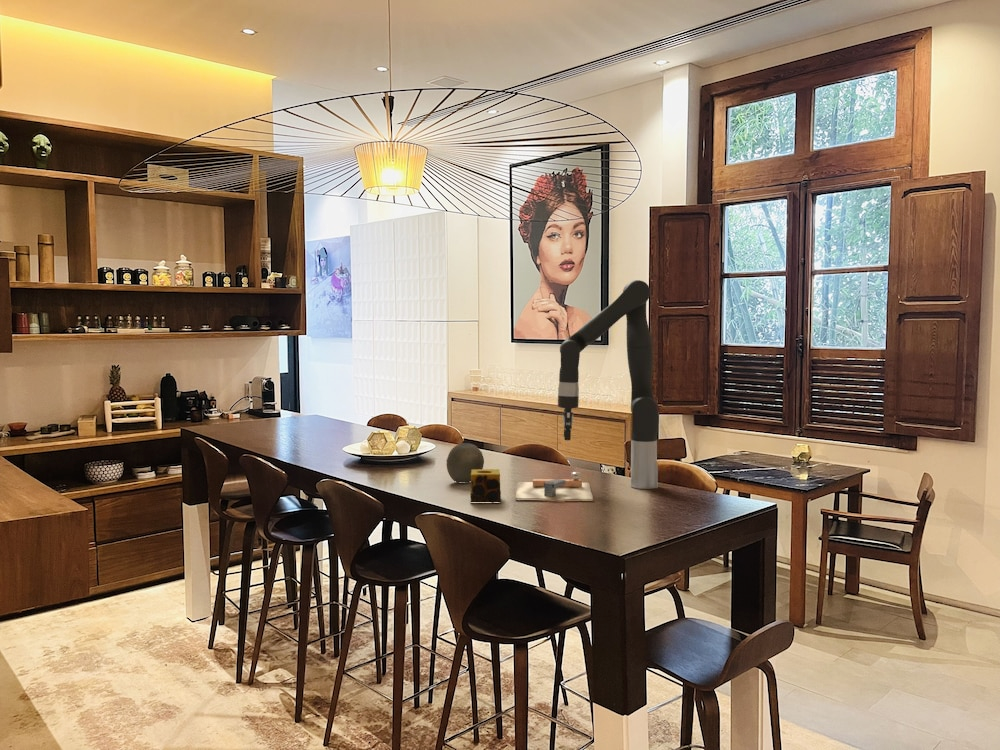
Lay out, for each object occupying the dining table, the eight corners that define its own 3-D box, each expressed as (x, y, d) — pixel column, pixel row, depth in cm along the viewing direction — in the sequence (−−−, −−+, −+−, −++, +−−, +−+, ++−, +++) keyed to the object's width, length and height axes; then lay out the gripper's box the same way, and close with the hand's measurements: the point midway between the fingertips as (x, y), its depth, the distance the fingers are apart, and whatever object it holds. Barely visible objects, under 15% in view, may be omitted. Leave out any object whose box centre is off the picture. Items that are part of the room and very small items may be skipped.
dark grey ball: (444, 486, 281) (444, 446, 280) (448, 479, 295) (448, 441, 294) (483, 487, 280) (483, 446, 280) (485, 479, 295) (484, 441, 294)
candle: (500, 504, 252) (500, 474, 252) (470, 504, 252) (470, 474, 252) (500, 497, 262) (500, 468, 262) (471, 497, 262) (471, 469, 262)
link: (581, 484, 277) (581, 479, 277) (582, 486, 273) (582, 481, 273) (532, 484, 278) (532, 478, 278) (532, 486, 274) (532, 481, 274)
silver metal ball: (580, 479, 277) (580, 471, 277) (580, 480, 273) (580, 473, 273) (570, 479, 277) (570, 471, 277) (571, 480, 274) (571, 473, 273)
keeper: (555, 491, 267) (555, 478, 267) (565, 492, 265) (565, 480, 264) (543, 496, 260) (543, 482, 260) (553, 497, 258) (553, 484, 257)
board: (588, 485, 283) (588, 482, 283) (593, 501, 255) (593, 498, 255) (518, 484, 285) (518, 482, 285) (515, 500, 257) (515, 498, 257)
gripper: (579, 396, 272) (578, 441, 273) (577, 393, 286) (576, 436, 287) (558, 395, 272) (557, 441, 273) (557, 392, 286) (556, 435, 287)
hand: (567, 438), depth 280 cm, fingers open, 8 cm apart
